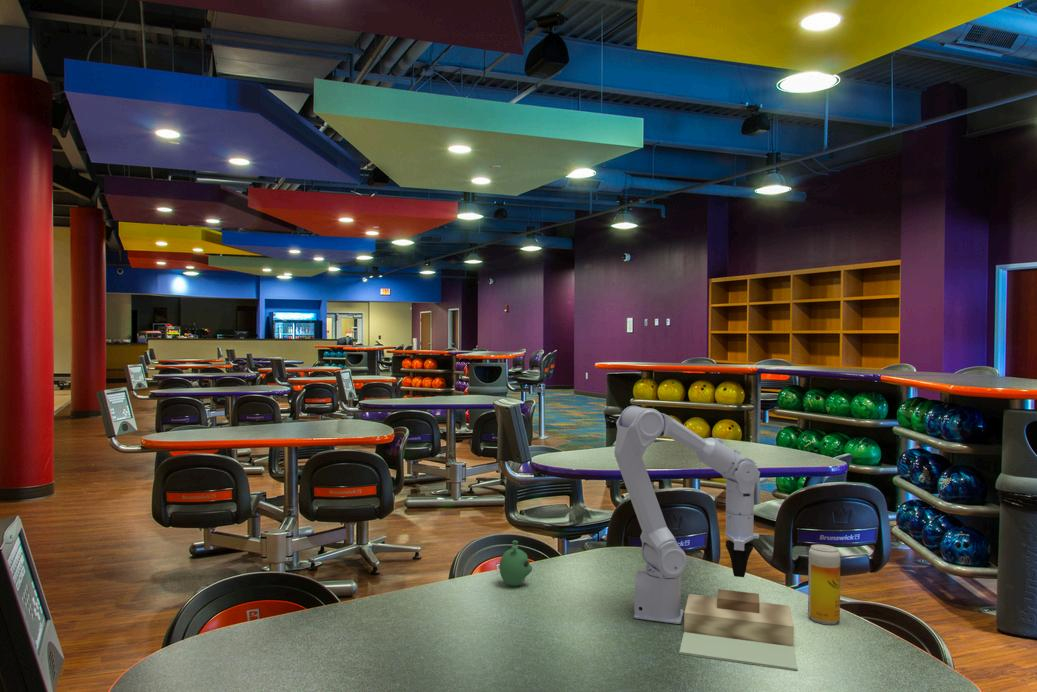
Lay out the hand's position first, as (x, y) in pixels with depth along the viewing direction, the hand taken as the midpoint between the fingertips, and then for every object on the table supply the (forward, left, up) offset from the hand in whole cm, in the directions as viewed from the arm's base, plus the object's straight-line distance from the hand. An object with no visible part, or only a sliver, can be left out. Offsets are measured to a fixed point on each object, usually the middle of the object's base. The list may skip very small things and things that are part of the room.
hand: (739, 576), depth 151 cm
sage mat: (0, -23, -8) cm, 24 cm away
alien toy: (-50, -1, -8) cm, 51 cm away
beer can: (+17, +1, -8) cm, 19 cm away
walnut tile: (0, -9, -4) cm, 10 cm away
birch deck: (0, -11, -8) cm, 13 cm away
